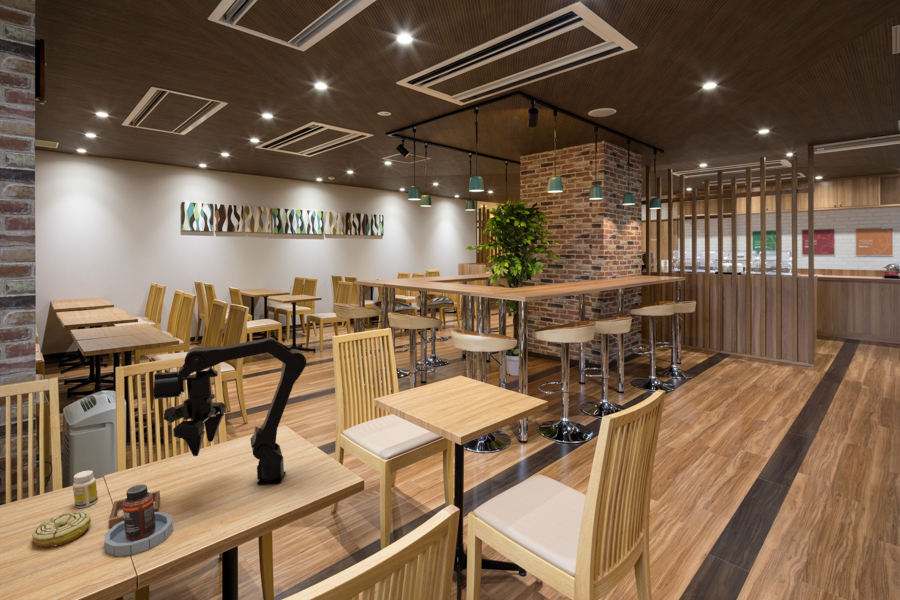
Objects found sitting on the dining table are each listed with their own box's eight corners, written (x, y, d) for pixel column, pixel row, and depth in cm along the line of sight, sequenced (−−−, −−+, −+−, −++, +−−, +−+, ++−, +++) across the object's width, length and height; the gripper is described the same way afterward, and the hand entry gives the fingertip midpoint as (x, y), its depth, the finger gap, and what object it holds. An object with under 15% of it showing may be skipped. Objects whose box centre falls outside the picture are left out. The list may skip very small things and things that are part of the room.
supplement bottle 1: (96, 496, 124) (93, 467, 123) (99, 503, 121) (96, 473, 120) (74, 503, 121) (71, 473, 120) (76, 510, 118) (72, 480, 117)
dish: (182, 519, 113) (181, 510, 113) (153, 553, 100) (153, 543, 100) (127, 522, 112) (126, 513, 112) (91, 557, 99) (90, 547, 99)
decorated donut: (72, 519, 114) (71, 505, 114) (101, 527, 111) (100, 512, 110) (22, 544, 104) (20, 529, 104) (52, 554, 101) (50, 538, 100)
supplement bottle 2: (159, 524, 110) (156, 480, 109) (151, 539, 104) (147, 492, 103) (131, 528, 108) (127, 484, 107) (121, 544, 103) (116, 497, 101)
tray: (160, 498, 123) (159, 490, 123) (158, 516, 115) (157, 508, 114) (115, 508, 118) (114, 500, 118) (109, 528, 110) (108, 520, 109)
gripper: (185, 384, 131) (188, 436, 133) (149, 406, 113) (153, 465, 114) (225, 383, 132) (228, 434, 134) (195, 404, 114) (199, 463, 115)
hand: (203, 448), depth 124 cm, fingers open, 9 cm apart
